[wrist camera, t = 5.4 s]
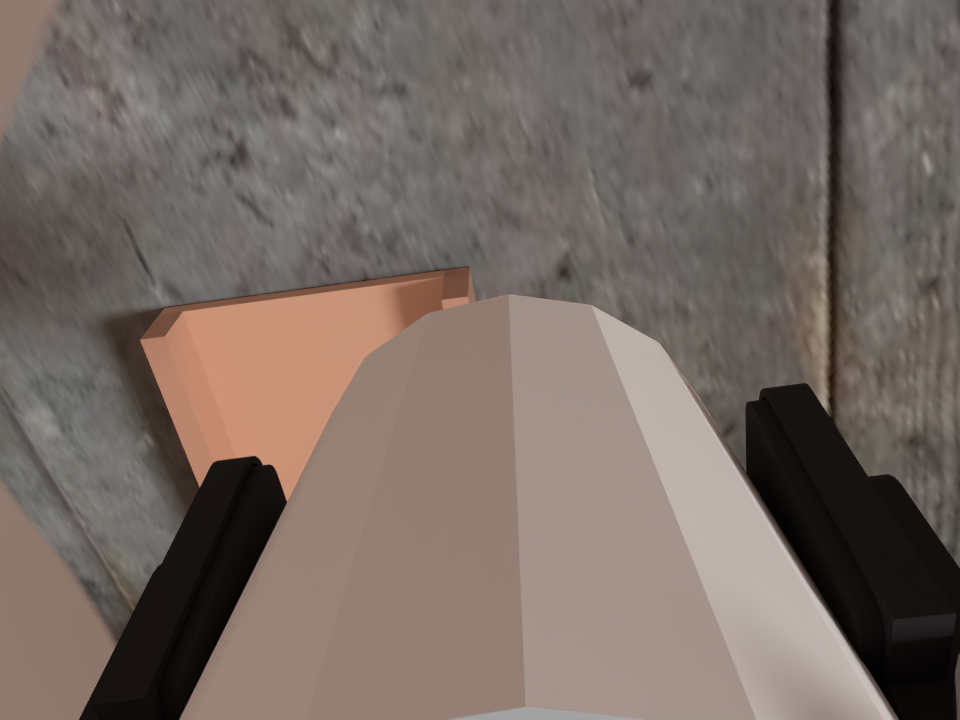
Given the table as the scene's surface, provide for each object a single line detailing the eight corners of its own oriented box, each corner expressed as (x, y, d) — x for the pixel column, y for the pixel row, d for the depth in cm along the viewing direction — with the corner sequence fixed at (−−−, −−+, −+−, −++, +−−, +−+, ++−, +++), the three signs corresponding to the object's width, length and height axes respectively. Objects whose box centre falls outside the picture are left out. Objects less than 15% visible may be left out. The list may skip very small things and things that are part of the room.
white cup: (527, 694, 15) (552, 1267, 8) (191, 482, 12) (-98, 1044, 6) (852, 455, 12) (1221, 1026, 6) (501, 137, 10) (517, 519, 4)
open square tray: (164, 307, 28) (139, 339, 26) (469, 266, 27) (467, 296, 25) (252, 540, 33) (237, 581, 31) (512, 512, 32) (513, 552, 30)
